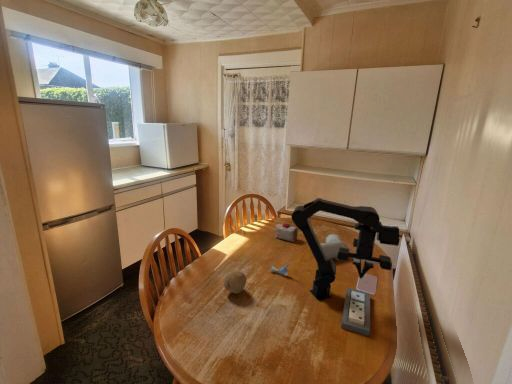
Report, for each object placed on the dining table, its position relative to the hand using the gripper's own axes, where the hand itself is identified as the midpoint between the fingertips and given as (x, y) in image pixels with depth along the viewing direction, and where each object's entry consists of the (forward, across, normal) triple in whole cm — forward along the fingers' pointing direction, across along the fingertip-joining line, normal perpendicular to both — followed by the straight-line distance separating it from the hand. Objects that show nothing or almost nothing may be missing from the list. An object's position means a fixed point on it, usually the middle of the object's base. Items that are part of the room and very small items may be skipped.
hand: (360, 277), depth 100 cm
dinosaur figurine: (+11, +34, -6) cm, 36 cm away
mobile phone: (+12, -4, -16) cm, 20 cm away
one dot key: (+11, 0, -1) cm, 11 cm away
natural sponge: (+11, +47, +15) cm, 51 cm away
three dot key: (+11, 0, +6) cm, 12 cm away
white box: (+11, +43, -45) cm, 63 cm away
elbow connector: (+11, +16, -35) cm, 40 cm away
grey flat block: (+11, 0, +6) cm, 12 cm away
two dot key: (+10, 0, +12) cm, 16 cm away
